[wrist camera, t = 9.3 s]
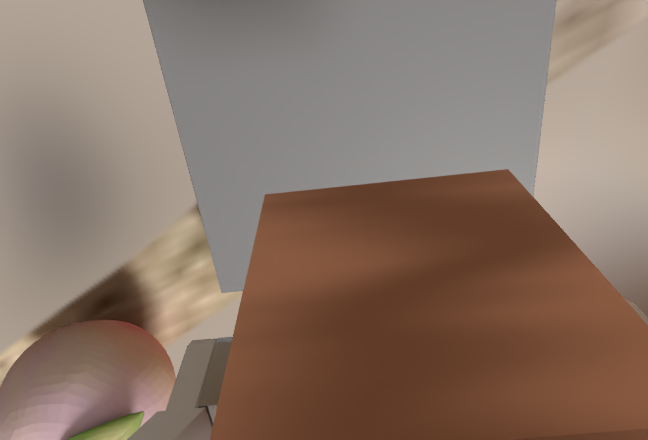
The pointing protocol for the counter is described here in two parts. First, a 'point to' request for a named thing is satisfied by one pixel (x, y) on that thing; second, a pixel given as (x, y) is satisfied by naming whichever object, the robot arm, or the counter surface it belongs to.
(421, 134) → the base slab
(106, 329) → the decorative fruit
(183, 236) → the counter surface
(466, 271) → the terracotta block
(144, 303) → the counter surface
